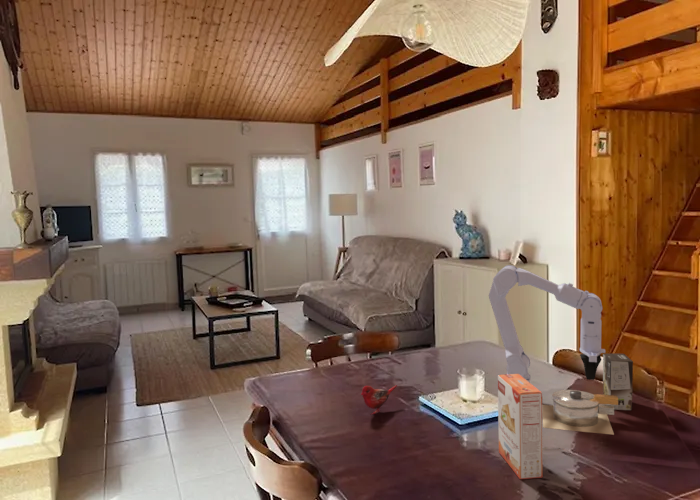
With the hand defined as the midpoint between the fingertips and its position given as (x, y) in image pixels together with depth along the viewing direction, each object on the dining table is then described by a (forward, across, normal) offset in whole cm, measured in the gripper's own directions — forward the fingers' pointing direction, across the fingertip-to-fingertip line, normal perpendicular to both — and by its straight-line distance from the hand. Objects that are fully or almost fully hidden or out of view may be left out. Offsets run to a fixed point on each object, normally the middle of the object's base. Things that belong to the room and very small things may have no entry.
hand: (590, 379), depth 164 cm
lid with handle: (+4, -9, +2) cm, 10 cm away
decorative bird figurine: (+11, -15, +62) cm, 64 cm away
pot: (+9, -9, +3) cm, 13 cm away
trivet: (+10, -9, +5) cm, 15 cm away
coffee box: (+11, +6, -8) cm, 15 cm away
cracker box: (+11, -40, +20) cm, 46 cm away
